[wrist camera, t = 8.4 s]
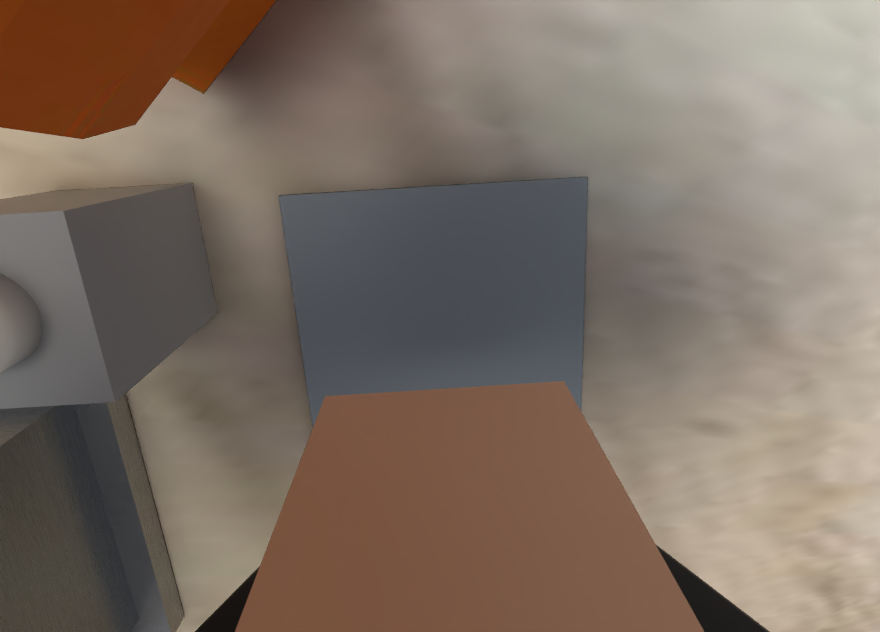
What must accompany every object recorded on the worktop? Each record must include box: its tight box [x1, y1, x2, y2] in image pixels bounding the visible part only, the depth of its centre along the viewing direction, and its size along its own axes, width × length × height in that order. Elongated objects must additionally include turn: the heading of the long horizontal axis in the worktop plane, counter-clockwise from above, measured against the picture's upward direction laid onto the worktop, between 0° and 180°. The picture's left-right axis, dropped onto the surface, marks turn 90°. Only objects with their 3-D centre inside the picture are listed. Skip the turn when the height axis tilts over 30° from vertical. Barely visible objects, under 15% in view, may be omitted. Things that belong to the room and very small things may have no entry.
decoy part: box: [0, 183, 218, 409], centre depth 13 cm, size 4×4×7 cm
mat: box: [279, 177, 588, 427], centre depth 17 cm, size 9×9×1 cm
